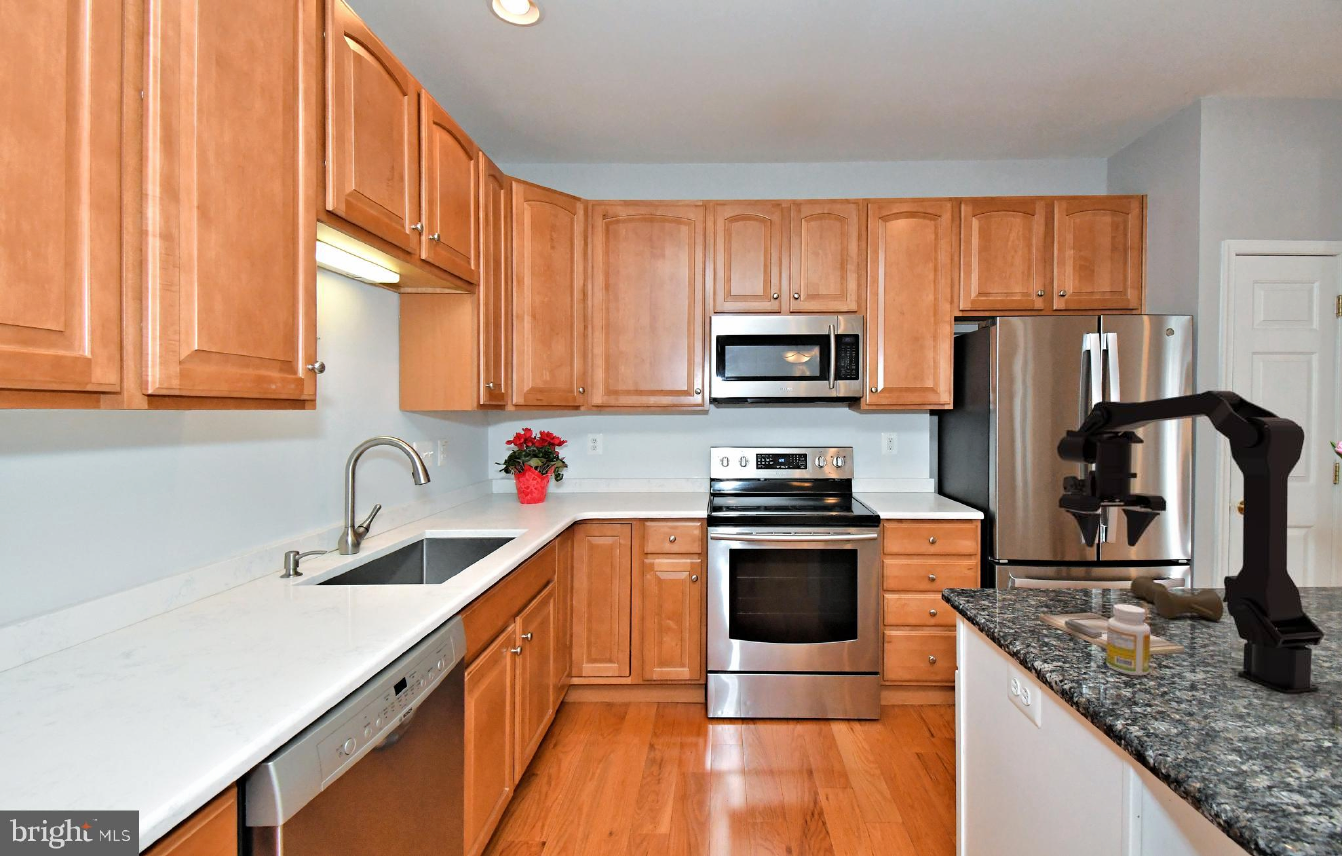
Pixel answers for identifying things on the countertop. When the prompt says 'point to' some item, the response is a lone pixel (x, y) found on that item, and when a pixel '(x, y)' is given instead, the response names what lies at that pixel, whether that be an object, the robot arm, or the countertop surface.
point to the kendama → (1178, 600)
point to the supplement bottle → (1128, 640)
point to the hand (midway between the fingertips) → (1110, 546)
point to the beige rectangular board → (1101, 631)
